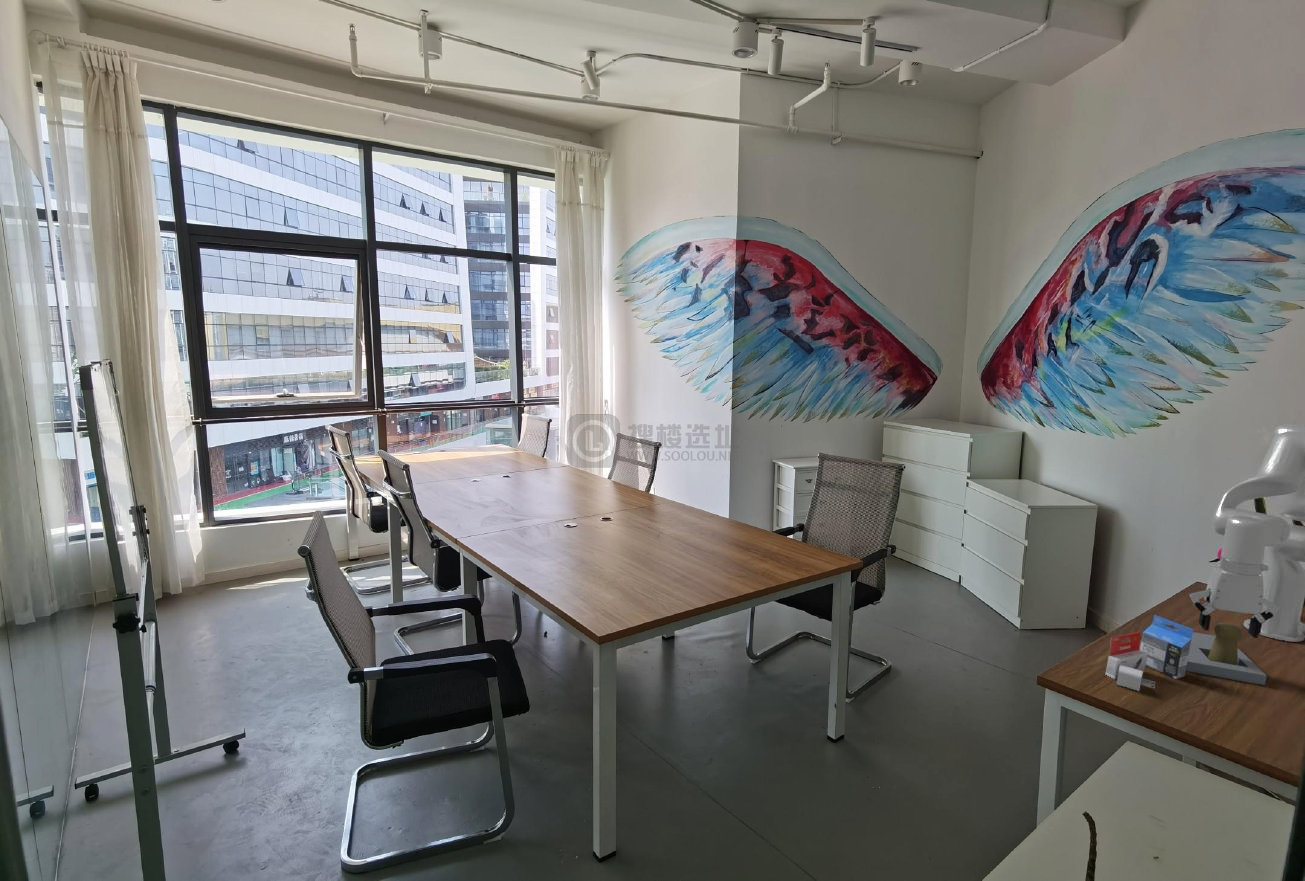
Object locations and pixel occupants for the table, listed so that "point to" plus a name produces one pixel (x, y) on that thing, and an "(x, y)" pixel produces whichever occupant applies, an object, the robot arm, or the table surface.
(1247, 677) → the socket board
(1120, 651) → the ink cartridge box
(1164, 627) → the blue and white box
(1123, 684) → the usb wall charger
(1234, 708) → the table surface
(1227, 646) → the cork
